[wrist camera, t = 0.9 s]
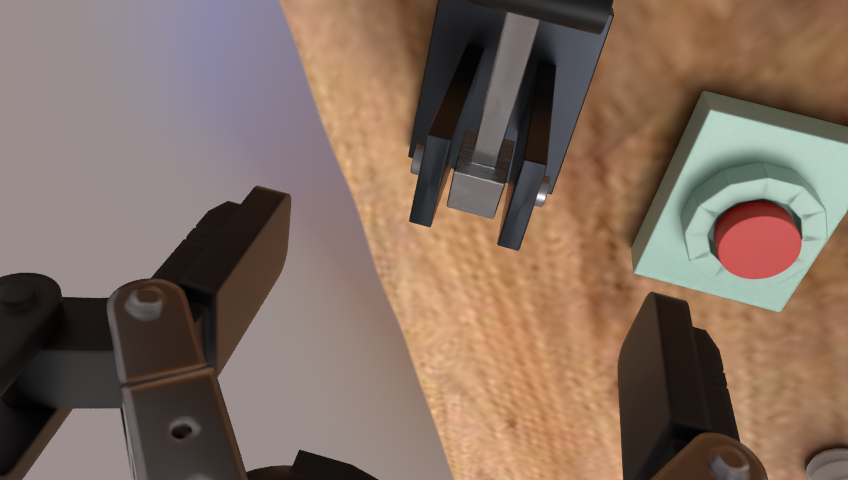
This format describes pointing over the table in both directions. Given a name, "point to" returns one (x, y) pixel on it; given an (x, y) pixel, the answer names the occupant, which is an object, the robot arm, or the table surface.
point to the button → (757, 240)
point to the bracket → (531, 118)
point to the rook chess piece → (829, 465)
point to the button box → (743, 195)
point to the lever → (510, 96)
